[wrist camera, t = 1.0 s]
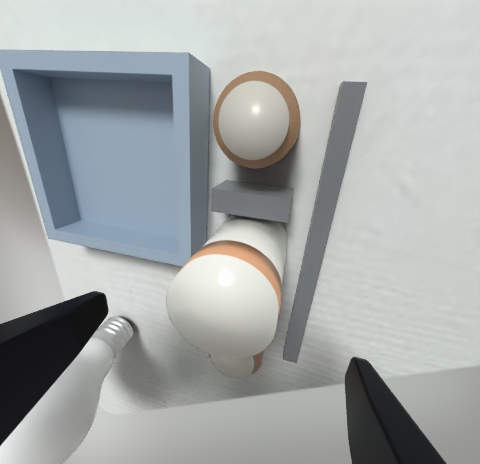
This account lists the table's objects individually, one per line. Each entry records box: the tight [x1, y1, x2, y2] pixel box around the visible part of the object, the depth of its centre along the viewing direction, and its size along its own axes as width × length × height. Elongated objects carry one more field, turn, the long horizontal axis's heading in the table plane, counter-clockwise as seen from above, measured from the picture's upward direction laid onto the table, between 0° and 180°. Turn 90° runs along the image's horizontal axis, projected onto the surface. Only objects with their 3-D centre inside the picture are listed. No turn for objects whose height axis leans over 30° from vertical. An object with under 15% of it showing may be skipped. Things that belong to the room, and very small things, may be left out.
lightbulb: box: [0, 316, 133, 464], centre depth 16 cm, size 6×6×11 cm
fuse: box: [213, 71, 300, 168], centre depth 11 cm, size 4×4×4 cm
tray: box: [0, 50, 210, 267], centre depth 14 cm, size 11×11×2 cm
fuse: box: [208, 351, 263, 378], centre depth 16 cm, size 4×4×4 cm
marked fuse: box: [166, 214, 288, 359], centre depth 12 cm, size 4×4×7 cm
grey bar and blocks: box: [212, 81, 367, 363], centre depth 14 cm, size 6×18×2 cm, turn 176°
